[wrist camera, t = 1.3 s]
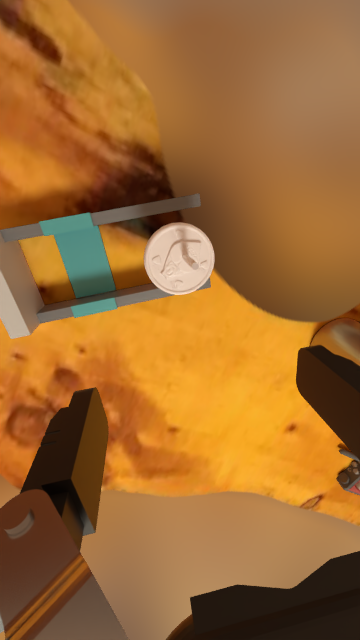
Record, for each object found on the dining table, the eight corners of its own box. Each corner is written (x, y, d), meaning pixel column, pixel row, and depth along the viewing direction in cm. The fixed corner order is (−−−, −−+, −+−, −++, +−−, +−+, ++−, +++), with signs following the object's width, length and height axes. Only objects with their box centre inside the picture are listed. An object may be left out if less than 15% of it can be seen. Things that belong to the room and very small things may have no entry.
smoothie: (203, 249, 32) (247, 274, 20) (166, 283, 33) (184, 327, 20) (170, 207, 30) (195, 204, 17) (130, 245, 31) (126, 269, 18)
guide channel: (193, 194, 30) (206, 190, 24) (204, 281, 34) (218, 295, 28) (-7, 230, 28) (-42, 235, 22) (32, 318, 32) (11, 339, 27)
